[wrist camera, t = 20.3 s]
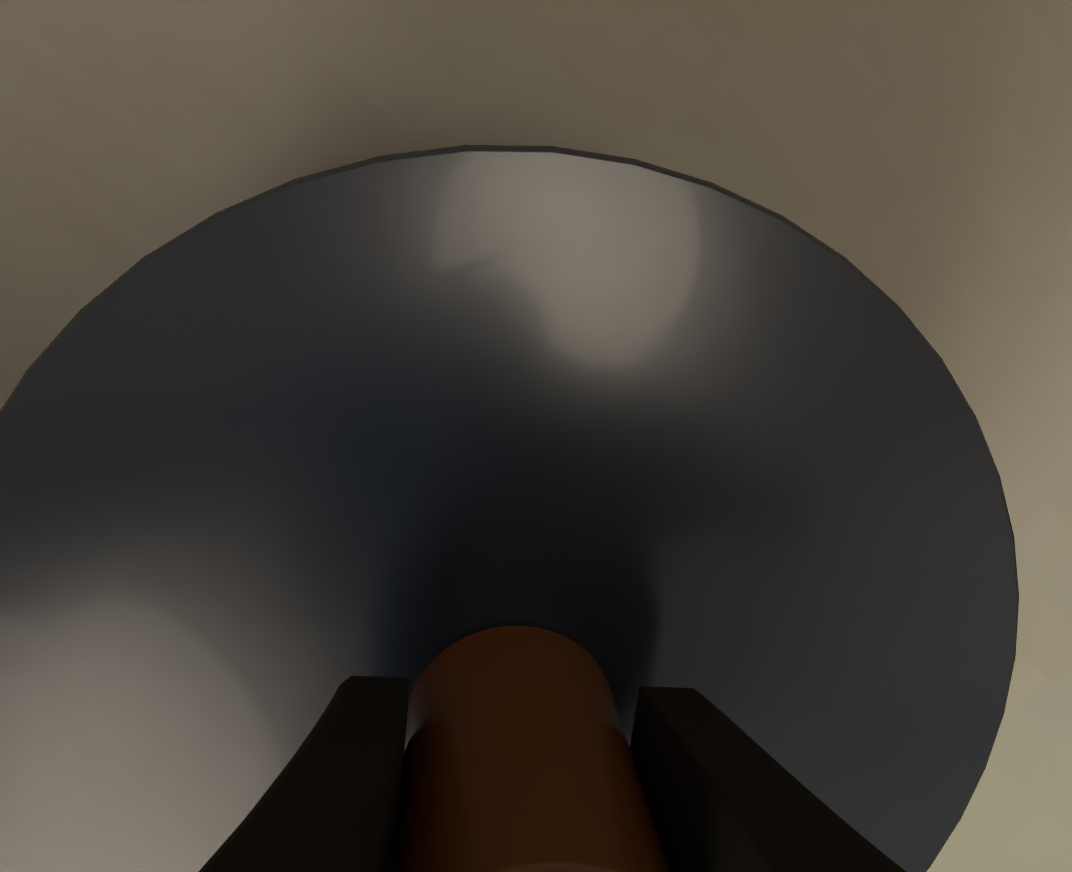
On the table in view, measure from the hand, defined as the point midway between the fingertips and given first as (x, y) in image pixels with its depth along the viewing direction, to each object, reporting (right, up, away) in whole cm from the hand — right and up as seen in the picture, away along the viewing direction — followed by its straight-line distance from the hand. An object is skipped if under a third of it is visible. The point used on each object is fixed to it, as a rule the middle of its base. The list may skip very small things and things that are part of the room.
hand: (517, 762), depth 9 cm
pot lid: (0, 0, +1) cm, 1 cm away
